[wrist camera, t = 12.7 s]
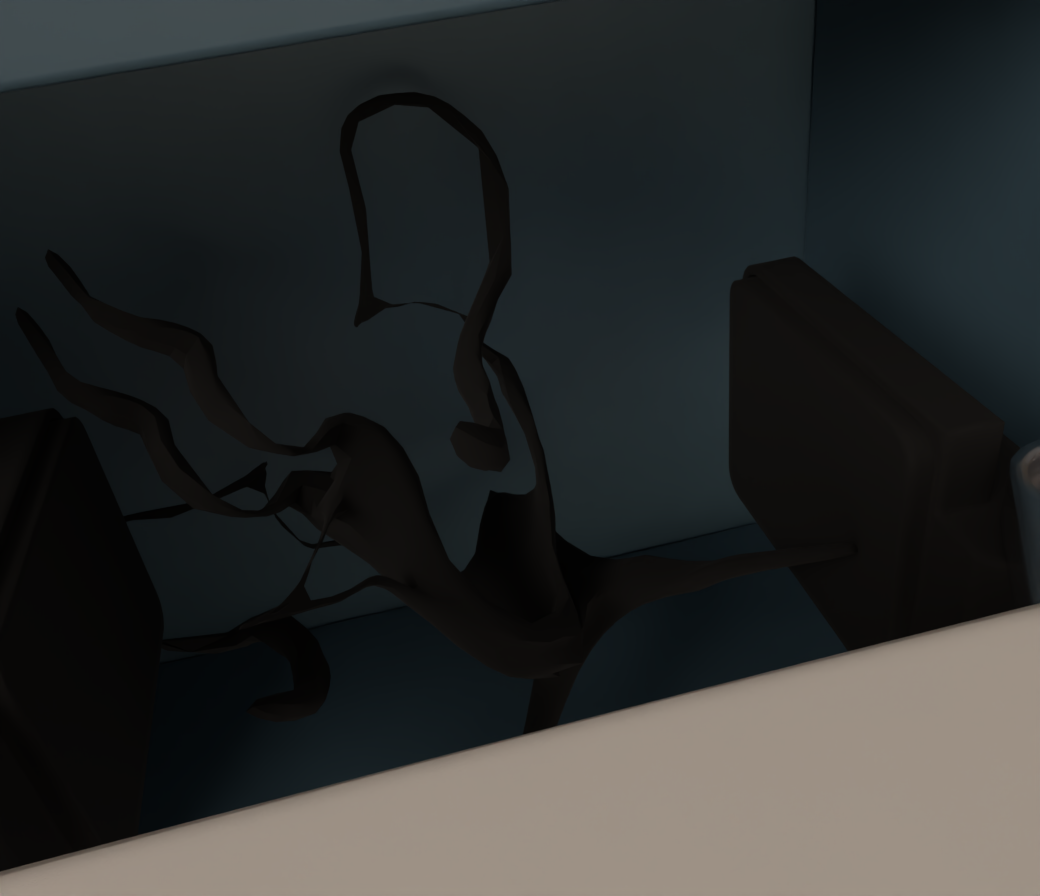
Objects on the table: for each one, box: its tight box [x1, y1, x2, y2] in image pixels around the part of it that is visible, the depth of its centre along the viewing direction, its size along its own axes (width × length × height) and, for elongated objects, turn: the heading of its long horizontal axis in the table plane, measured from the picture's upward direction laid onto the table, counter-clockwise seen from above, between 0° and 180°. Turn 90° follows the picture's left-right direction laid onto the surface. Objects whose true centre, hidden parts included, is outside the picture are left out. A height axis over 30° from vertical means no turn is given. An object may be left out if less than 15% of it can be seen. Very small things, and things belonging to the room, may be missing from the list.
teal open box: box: [0, 0, 1040, 835], centre depth 12 cm, size 13×11×7 cm
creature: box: [15, 92, 858, 735], centre depth 10 cm, size 8×5×8 cm
